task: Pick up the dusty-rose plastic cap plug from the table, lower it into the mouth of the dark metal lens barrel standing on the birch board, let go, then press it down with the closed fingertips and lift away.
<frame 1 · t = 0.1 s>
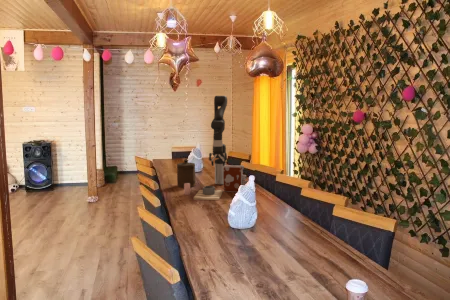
hand: (218, 165, 325), 17 cm above the table, tool pointing down, fingers open, 8 cm apart
lens barrel: (208, 193, 297), resting on mount board
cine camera: (236, 191, 311), on the table
mount board: (208, 195, 297), on the table
wooden container: (186, 185, 333), on the table
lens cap: (187, 194, 303), on the table
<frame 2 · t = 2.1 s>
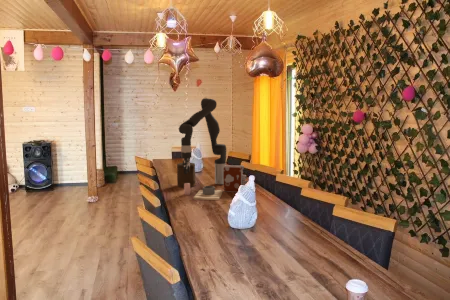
hand: (186, 172, 301), 16 cm above the table, tool pointing down, fingers open, 8 cm apart
nothing on the table moved.
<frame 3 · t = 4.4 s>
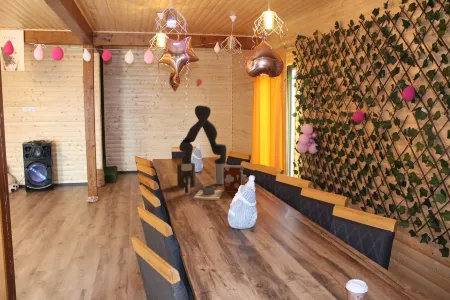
hand: (187, 191, 303), 2 cm above the table, tool pointing down, fingers closed on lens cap, 4 cm apart
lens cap: (187, 194, 303), on the table, touching gripper
everything else where it was.
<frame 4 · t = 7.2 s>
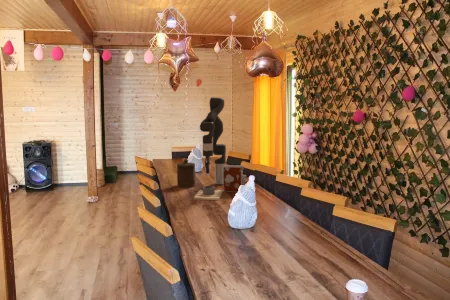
hand: (208, 172, 295), 17 cm above the table, tool pointing down, fingers closed on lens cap, 4 cm apart
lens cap: (208, 175, 295), point 15 cm above the table, touching gripper
everything else where it was.
when the fingers open (7 cm above the table, at t = 10.2 s): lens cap drops 3 cm, point 2 cm above the table.
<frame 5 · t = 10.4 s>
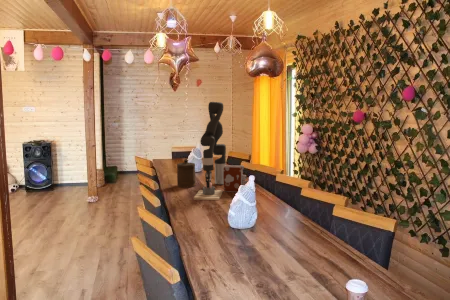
hand: (208, 186, 296), 7 cm above the table, tool pointing down, fingers open, 5 cm apart
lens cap: (208, 193, 297), point 2 cm above the table, touching gripper
everything else where it was.
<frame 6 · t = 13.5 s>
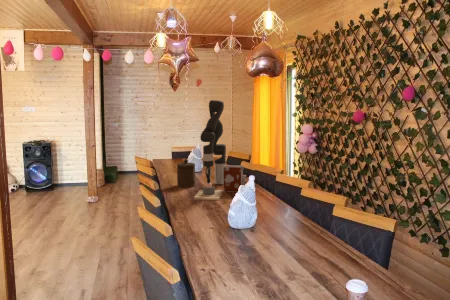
hand: (208, 183, 296), 9 cm above the table, tool pointing down, fingers closed
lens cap: (208, 193, 297), point 1 cm above the table, touching gripper, mount board
everything else where it was.
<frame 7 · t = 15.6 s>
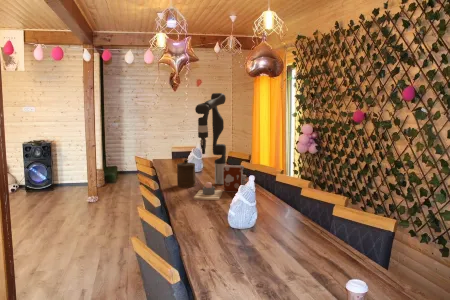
hand: (203, 153, 307), 29 cm above the table, tool pointing down, fingers closed
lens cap: (208, 193, 297), point 2 cm above the table, touching mount board
everything else where it was.
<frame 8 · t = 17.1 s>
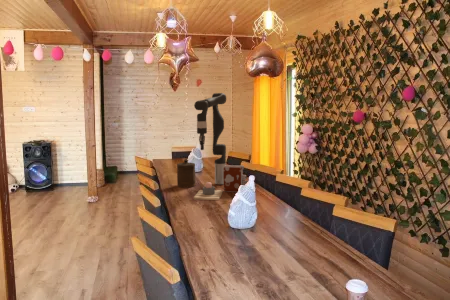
hand: (202, 149, 310), 32 cm above the table, tool pointing down, fingers closed
nothing on the table moved.
at the end: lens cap 0.3 cm off-centre on the lens barrel, point 0.0 cm above the lens barrel's base; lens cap tilted 0°; the gripper is holding nothing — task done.
